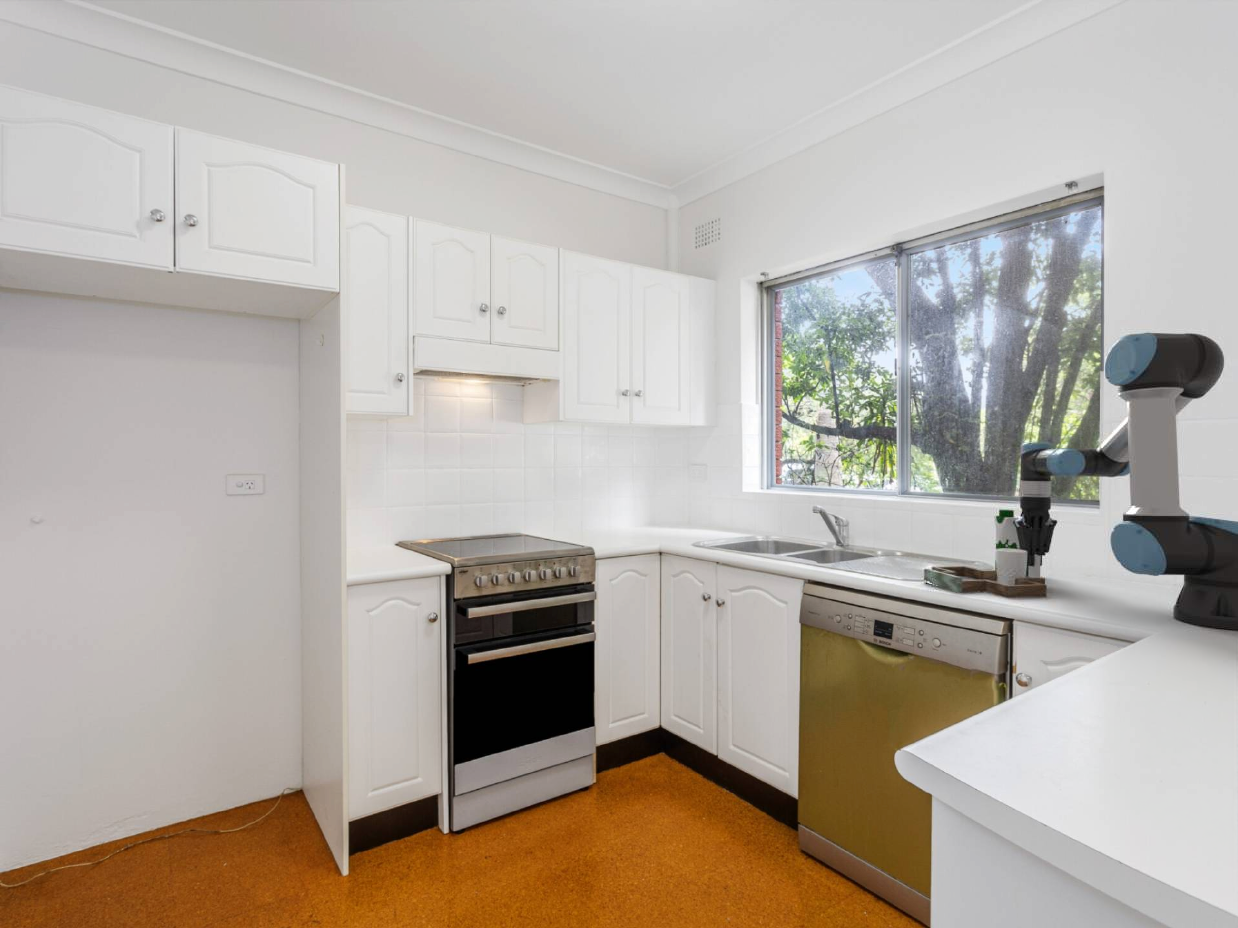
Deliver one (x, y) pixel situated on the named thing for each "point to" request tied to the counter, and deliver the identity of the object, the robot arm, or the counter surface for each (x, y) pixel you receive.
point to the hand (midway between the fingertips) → (1034, 577)
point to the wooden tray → (983, 582)
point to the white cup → (1010, 565)
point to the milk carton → (1006, 531)
